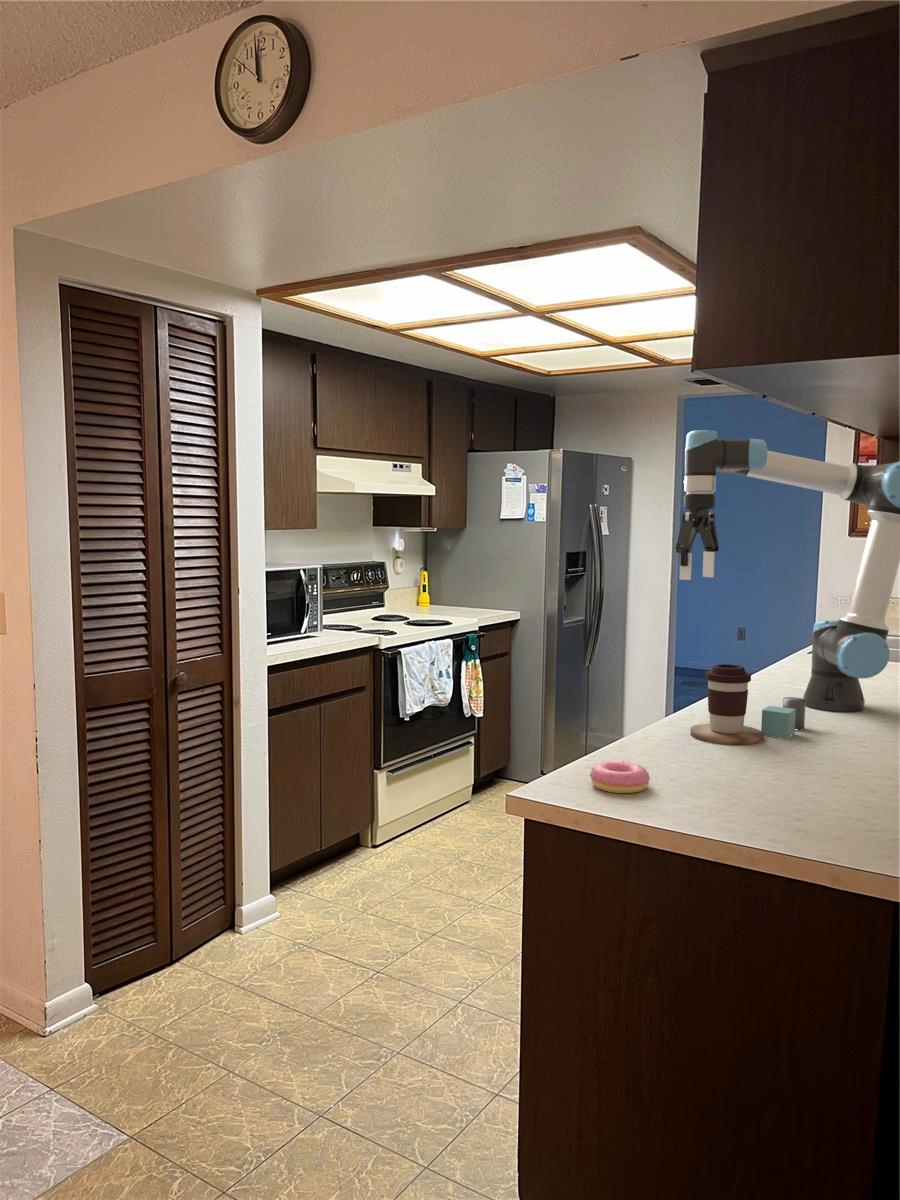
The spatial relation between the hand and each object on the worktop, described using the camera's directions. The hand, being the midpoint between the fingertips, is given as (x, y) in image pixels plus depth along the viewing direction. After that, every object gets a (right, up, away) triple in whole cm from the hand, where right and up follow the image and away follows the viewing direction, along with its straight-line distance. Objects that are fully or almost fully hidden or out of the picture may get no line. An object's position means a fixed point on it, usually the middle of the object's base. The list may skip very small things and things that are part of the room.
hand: (696, 578), depth 228 cm
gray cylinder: (+20, -36, -11) cm, 43 cm away
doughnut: (-31, -41, -60) cm, 78 cm away
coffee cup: (+1, -36, -20) cm, 41 cm away
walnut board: (+1, -37, -20) cm, 42 cm away
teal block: (+14, -37, -18) cm, 43 cm away
